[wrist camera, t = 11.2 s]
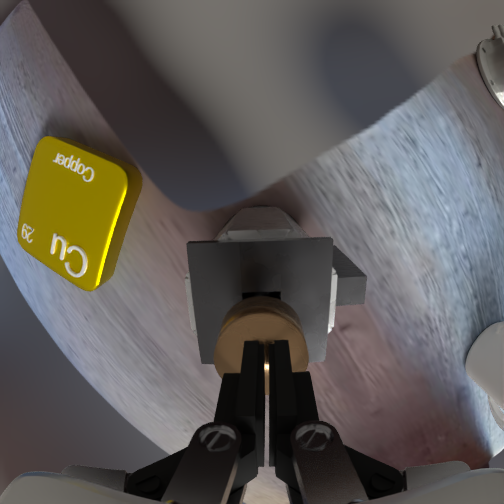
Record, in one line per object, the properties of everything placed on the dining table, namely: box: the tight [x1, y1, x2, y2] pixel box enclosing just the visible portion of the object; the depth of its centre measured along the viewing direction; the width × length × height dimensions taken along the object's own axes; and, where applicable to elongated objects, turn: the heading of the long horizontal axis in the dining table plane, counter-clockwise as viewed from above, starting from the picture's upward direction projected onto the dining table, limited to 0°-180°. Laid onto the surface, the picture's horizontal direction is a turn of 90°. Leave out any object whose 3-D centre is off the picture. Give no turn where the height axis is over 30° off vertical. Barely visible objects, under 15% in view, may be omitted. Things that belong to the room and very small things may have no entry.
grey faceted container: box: [185, 205, 367, 364], centre depth 23 cm, size 9×12×15 cm
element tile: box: [17, 136, 142, 291], centre depth 28 cm, size 15×15×5 cm
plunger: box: [214, 291, 309, 395], centre depth 18 cm, size 7×7×14 cm
